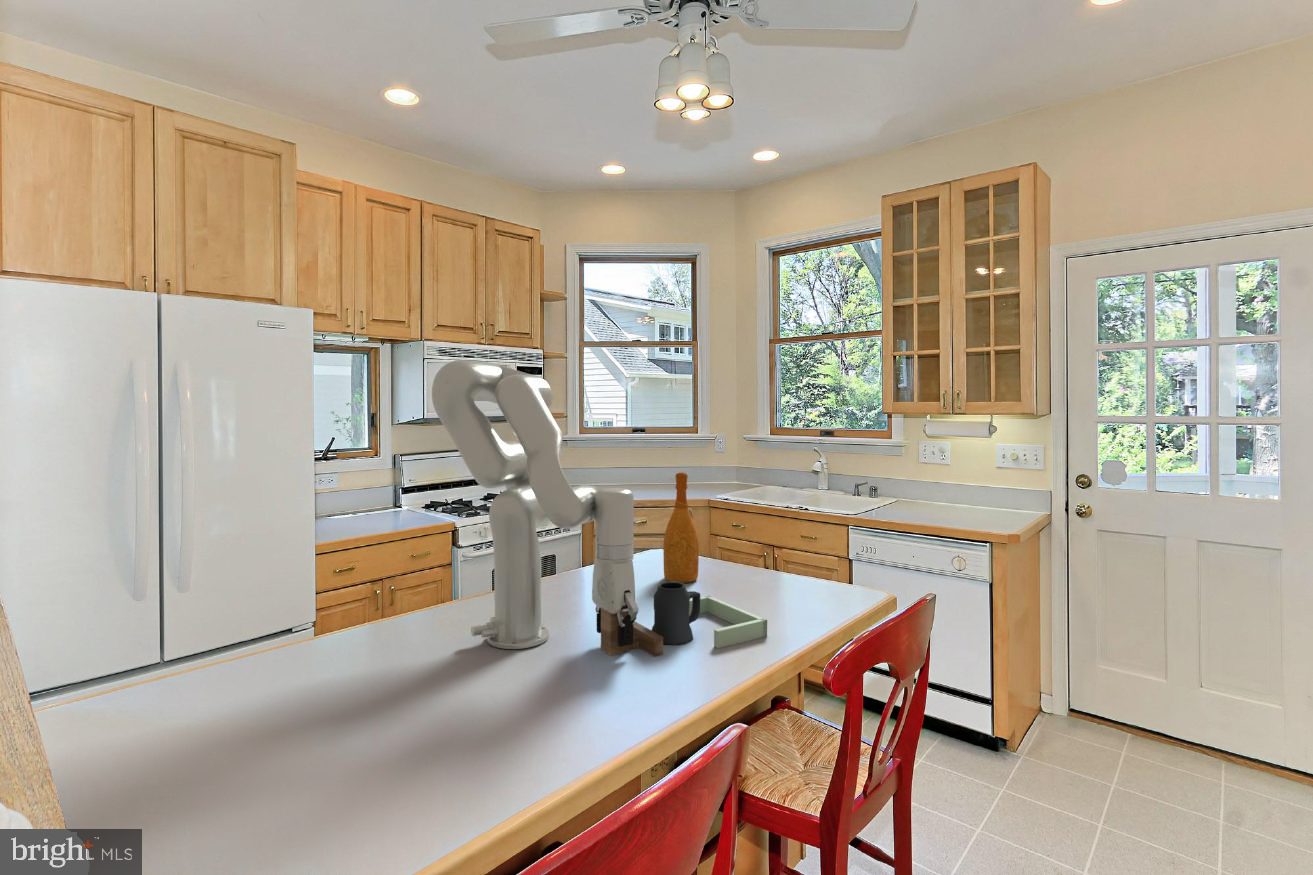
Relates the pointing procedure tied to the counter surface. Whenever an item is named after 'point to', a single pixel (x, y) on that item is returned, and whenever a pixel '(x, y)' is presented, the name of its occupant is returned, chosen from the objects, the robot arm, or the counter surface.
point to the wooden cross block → (641, 636)
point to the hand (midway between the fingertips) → (614, 637)
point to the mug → (675, 612)
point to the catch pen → (744, 622)
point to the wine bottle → (681, 539)
